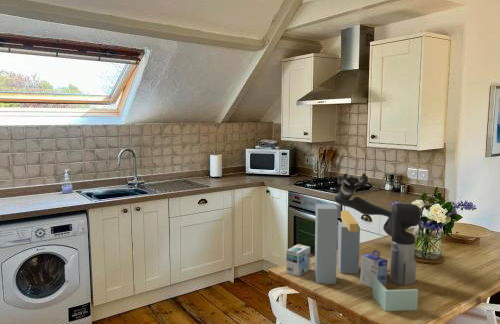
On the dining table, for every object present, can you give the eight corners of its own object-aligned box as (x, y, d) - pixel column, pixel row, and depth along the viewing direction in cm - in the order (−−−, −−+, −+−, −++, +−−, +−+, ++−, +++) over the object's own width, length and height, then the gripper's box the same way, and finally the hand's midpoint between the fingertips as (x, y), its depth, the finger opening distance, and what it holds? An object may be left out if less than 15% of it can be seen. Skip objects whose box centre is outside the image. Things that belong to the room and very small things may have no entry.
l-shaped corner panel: (417, 309, 144) (418, 290, 143) (384, 311, 143) (385, 291, 142) (402, 294, 156) (403, 276, 155) (372, 295, 155) (373, 277, 154)
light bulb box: (298, 276, 174) (298, 253, 172) (285, 273, 178) (285, 249, 176) (310, 269, 182) (310, 246, 181) (297, 265, 186) (298, 243, 185)
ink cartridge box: (387, 288, 161) (388, 254, 160) (377, 291, 159) (378, 256, 157) (369, 279, 170) (370, 247, 168) (359, 282, 168) (360, 249, 166)
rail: (340, 218, 190) (340, 210, 189) (348, 218, 190) (348, 210, 189) (349, 231, 168) (349, 223, 168) (358, 231, 168) (358, 223, 167)
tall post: (314, 275, 175) (315, 204, 171) (332, 275, 174) (334, 204, 170) (316, 283, 167) (317, 208, 163) (335, 283, 166) (337, 208, 162)
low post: (337, 265, 185) (338, 222, 183) (354, 266, 185) (356, 222, 182) (340, 272, 178) (341, 227, 175) (358, 273, 177) (360, 227, 174)
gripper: (334, 179, 209) (339, 167, 194) (362, 179, 208) (369, 167, 193) (335, 192, 206) (340, 182, 191) (363, 193, 205) (370, 182, 191)
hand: (355, 175), depth 192 cm, fingers open, 8 cm apart
